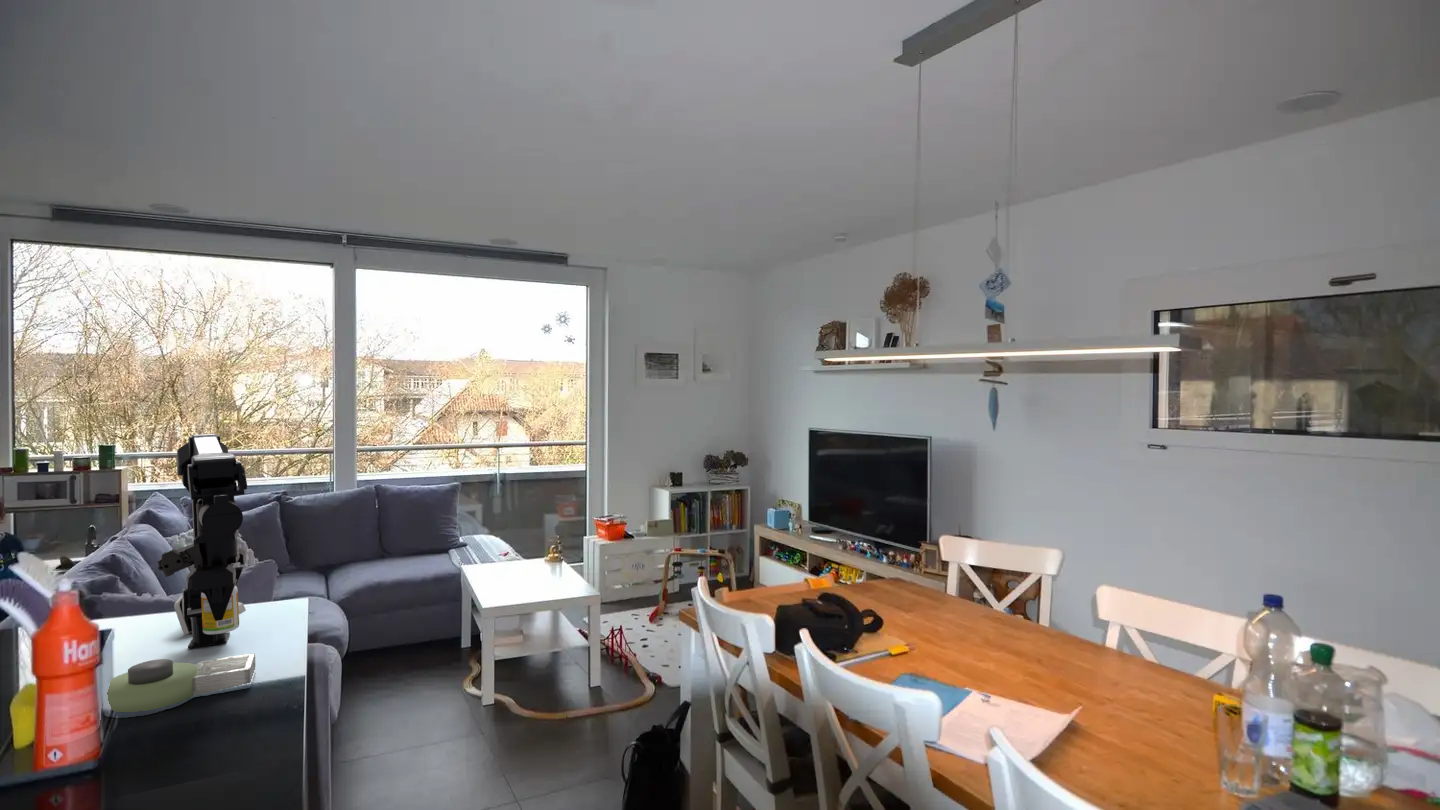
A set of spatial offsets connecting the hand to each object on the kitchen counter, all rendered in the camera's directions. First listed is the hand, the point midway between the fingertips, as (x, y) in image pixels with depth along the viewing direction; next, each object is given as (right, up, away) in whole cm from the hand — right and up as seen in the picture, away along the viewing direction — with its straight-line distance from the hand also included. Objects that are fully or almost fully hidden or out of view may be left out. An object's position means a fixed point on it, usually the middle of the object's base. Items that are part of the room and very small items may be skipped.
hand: (221, 615), depth 132 cm
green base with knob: (-8, -13, -6) cm, 16 cm away
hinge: (-27, -12, +36) cm, 46 cm away
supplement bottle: (0, -3, 0) cm, 3 cm away
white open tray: (0, -12, 0) cm, 12 cm away
